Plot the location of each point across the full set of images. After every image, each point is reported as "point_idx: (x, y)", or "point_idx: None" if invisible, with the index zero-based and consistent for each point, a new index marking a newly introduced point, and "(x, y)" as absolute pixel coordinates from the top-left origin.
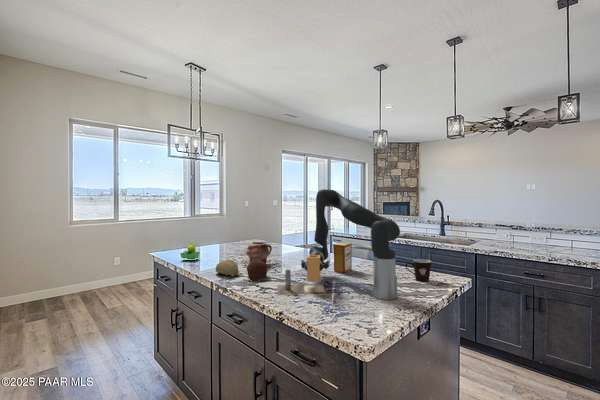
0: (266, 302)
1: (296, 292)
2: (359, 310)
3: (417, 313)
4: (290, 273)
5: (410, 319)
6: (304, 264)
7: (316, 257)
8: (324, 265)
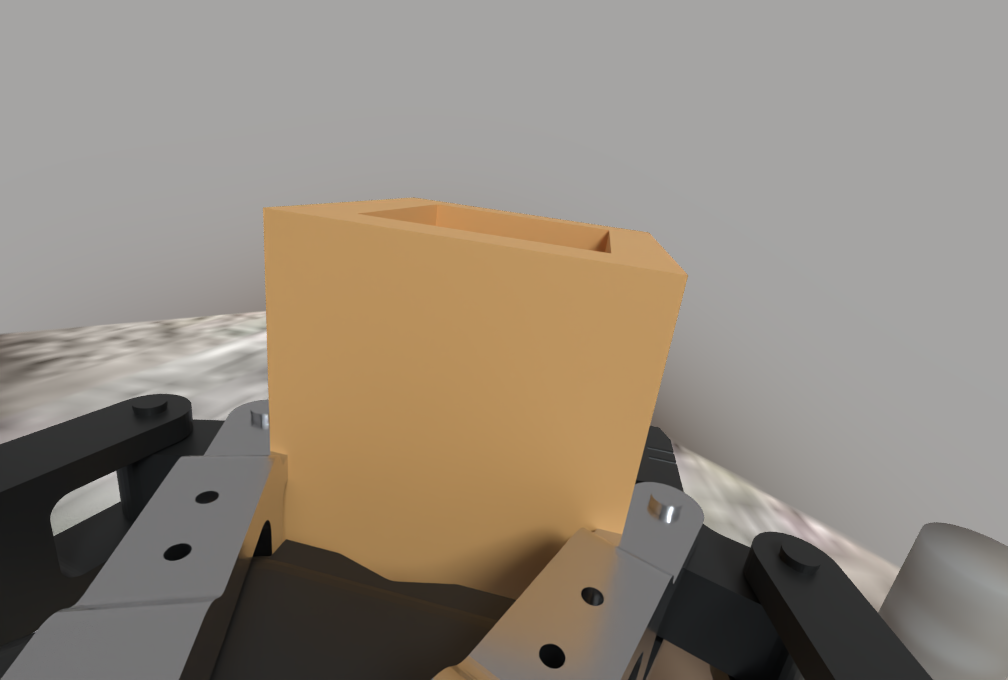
0: (860, 569)
1: (671, 645)
2: (267, 390)
3: (30, 333)
4: (900, 599)
5: (137, 322)
6: (717, 535)
7: (463, 206)
8: (216, 430)
